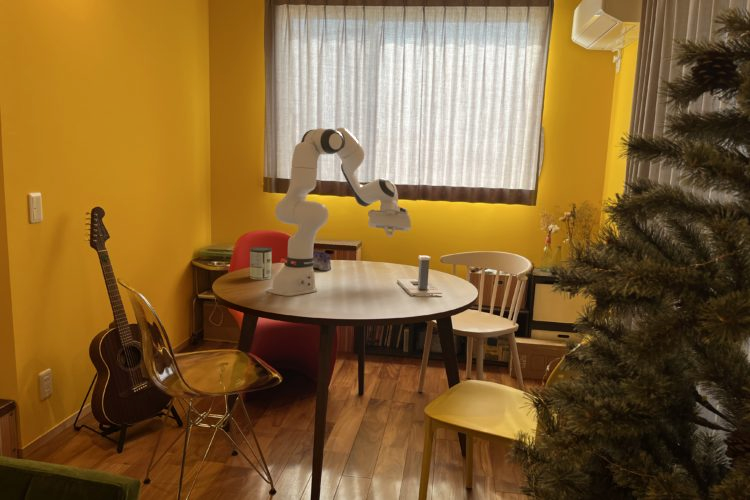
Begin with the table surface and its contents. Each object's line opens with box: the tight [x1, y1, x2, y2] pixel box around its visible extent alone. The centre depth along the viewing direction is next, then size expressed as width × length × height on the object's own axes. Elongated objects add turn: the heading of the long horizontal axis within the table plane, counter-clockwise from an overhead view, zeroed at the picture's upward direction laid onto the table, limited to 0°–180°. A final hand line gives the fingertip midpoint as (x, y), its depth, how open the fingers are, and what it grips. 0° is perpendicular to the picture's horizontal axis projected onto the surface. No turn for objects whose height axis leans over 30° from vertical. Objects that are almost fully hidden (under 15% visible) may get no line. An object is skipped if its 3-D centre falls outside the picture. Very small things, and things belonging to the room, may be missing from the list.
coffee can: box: [249, 246, 273, 281], centre depth 266 cm, size 10×10×14 cm
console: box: [396, 278, 443, 296], centre depth 259 cm, size 28×14×2 cm, turn 10°
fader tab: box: [417, 255, 432, 291], centre depth 251 cm, size 4×4×16 cm
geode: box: [313, 249, 332, 272], centre depth 298 cm, size 20×12×10 cm, turn 27°
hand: (389, 235), depth 263 cm, fingers closed
